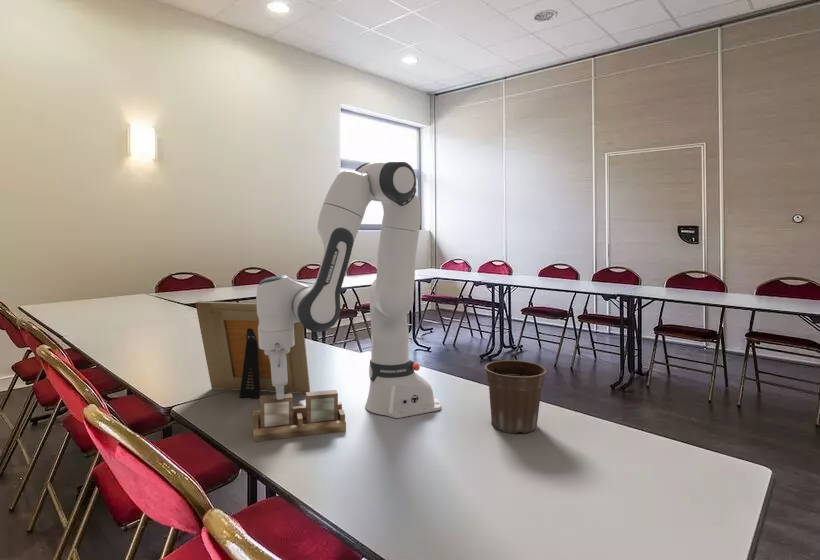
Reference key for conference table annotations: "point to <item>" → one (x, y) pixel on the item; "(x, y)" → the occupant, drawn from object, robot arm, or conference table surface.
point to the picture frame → (245, 350)
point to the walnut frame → (276, 411)
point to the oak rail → (298, 426)
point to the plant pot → (514, 394)
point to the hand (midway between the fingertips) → (279, 392)
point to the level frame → (321, 406)
